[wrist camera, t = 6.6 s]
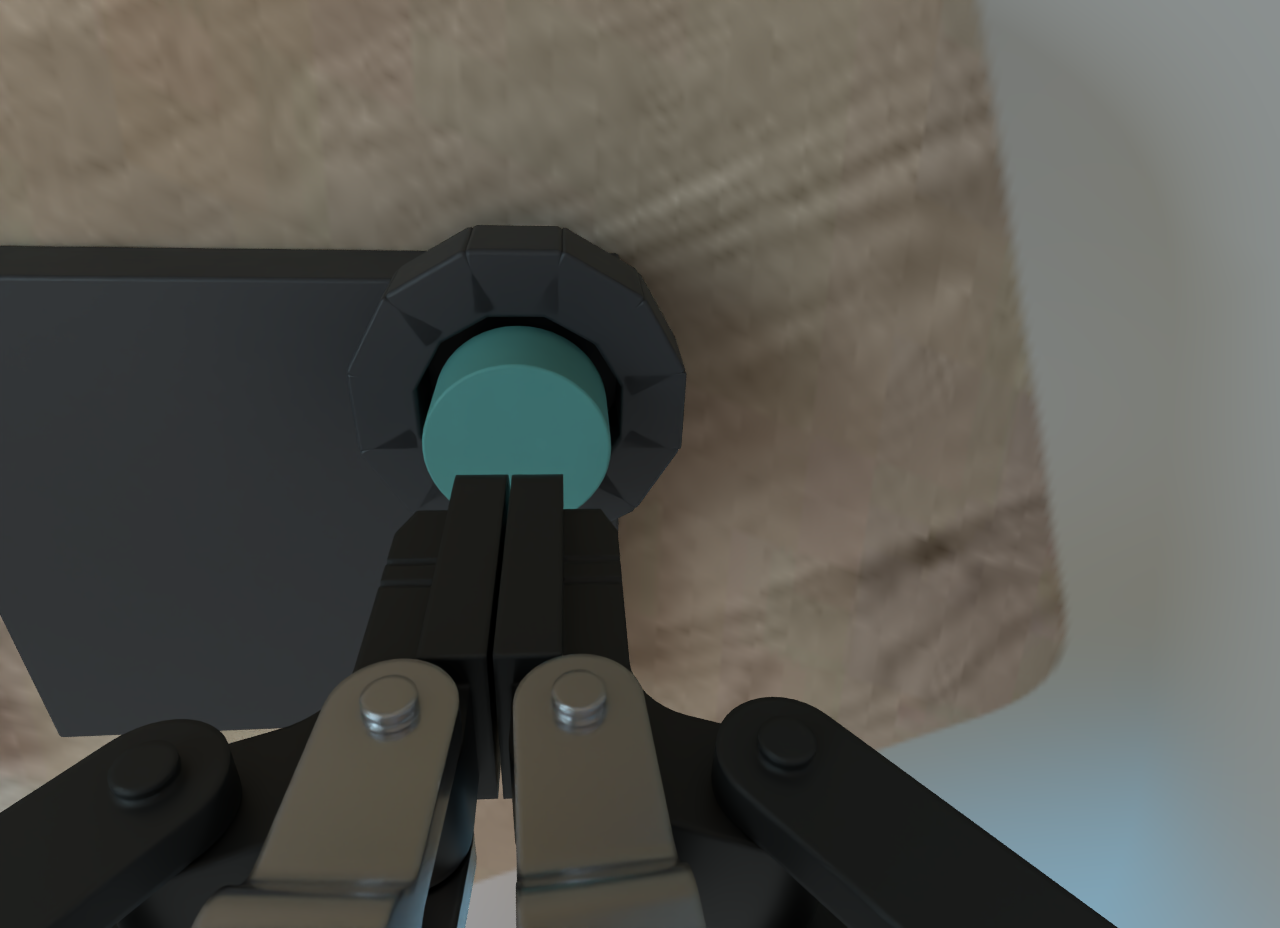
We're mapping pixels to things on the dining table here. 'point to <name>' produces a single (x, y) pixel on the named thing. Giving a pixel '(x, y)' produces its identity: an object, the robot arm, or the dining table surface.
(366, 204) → the dining table surface
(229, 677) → the scale
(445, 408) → the button
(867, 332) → the dining table surface
